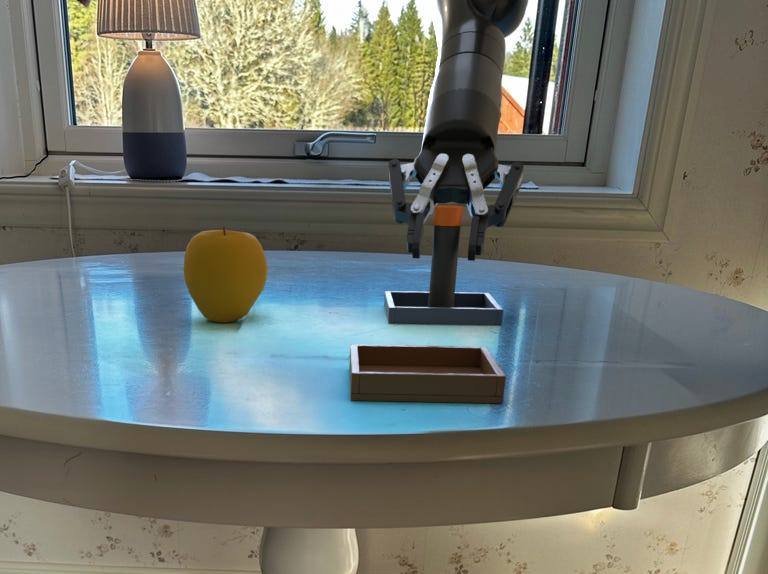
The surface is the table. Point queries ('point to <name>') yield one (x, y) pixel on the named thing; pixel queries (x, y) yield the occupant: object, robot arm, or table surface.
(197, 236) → the apple
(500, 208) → the robot arm
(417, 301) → the grey tray
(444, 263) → the marker
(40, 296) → the table surface
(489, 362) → the walnut tray
